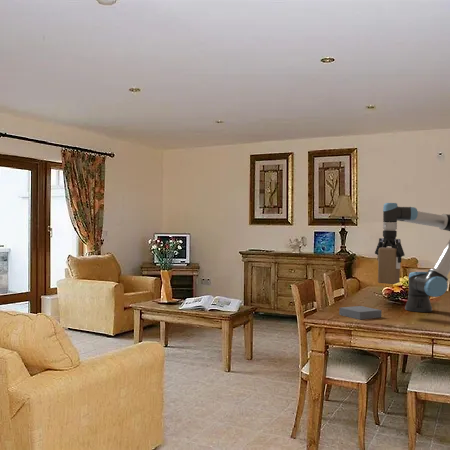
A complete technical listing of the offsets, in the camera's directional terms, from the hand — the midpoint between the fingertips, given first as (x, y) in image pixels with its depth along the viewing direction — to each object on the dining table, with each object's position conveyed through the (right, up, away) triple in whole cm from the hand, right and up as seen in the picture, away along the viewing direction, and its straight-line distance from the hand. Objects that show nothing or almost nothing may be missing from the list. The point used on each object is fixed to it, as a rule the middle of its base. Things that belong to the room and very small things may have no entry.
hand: (388, 267), depth 296 cm
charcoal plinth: (-18, -26, -7) cm, 33 cm away
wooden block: (0, -9, 0) cm, 9 cm away
